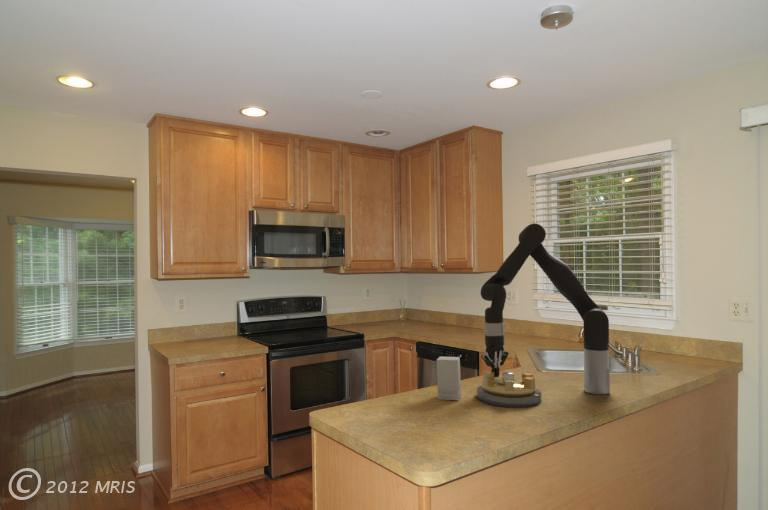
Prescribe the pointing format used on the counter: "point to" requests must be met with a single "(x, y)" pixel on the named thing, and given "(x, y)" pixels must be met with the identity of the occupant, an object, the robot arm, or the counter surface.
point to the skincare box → (448, 378)
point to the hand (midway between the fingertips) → (495, 376)
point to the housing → (509, 399)
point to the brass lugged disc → (509, 384)
